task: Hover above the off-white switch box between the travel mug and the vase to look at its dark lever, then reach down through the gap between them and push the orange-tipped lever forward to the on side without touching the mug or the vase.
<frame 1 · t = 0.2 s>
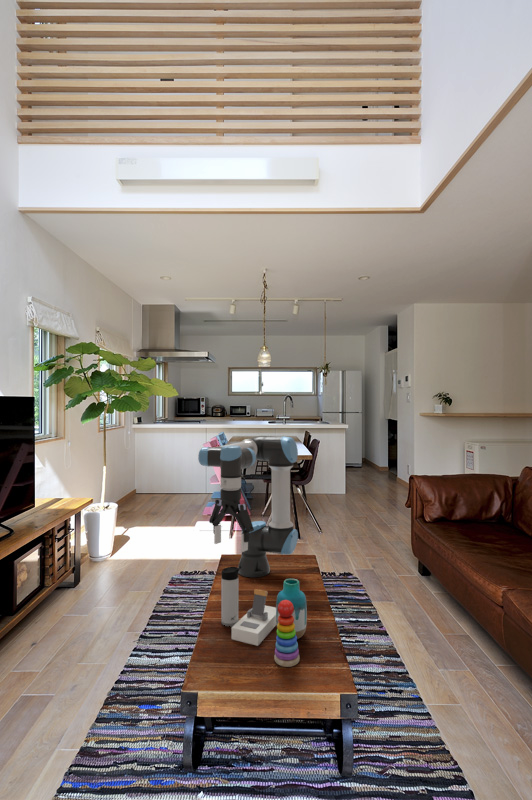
hand: (230, 546, 166), 28 cm above the table, tool pointing down, fingers open, 13 cm apart
stacking toy: (286, 661, 143), on the table
vase: (291, 637, 157), on the table
lever: (259, 603, 164), point 8 cm above the table, hinge at -22.0°
switch box: (257, 628, 162), on the table
travel mug: (230, 623, 167), on the table
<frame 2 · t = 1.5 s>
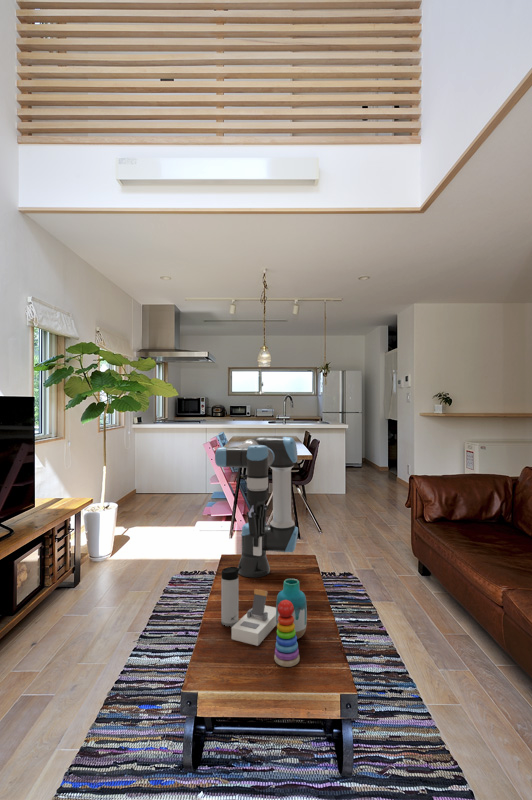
hand: (257, 554, 162), 26 cm above the table, tool pointing down, fingers closed
nothing on the table moved.
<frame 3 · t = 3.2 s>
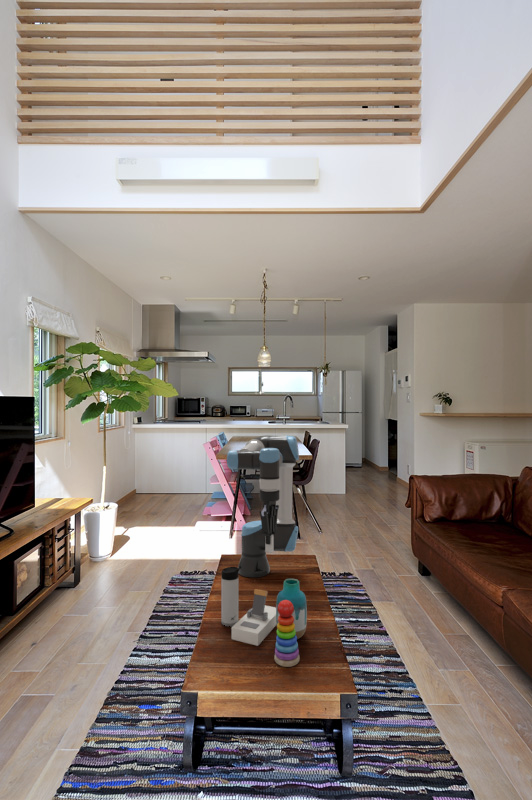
hand: (269, 552, 172), 24 cm above the table, tool pointing down, fingers closed
nothing on the table moved.
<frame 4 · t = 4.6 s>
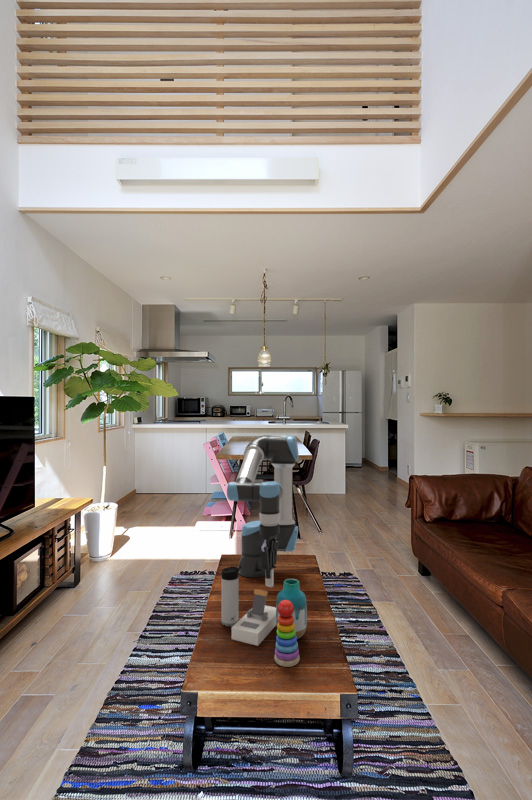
hand: (269, 585, 172), 11 cm above the table, tool pointing down, fingers closed
nothing on the table moved.
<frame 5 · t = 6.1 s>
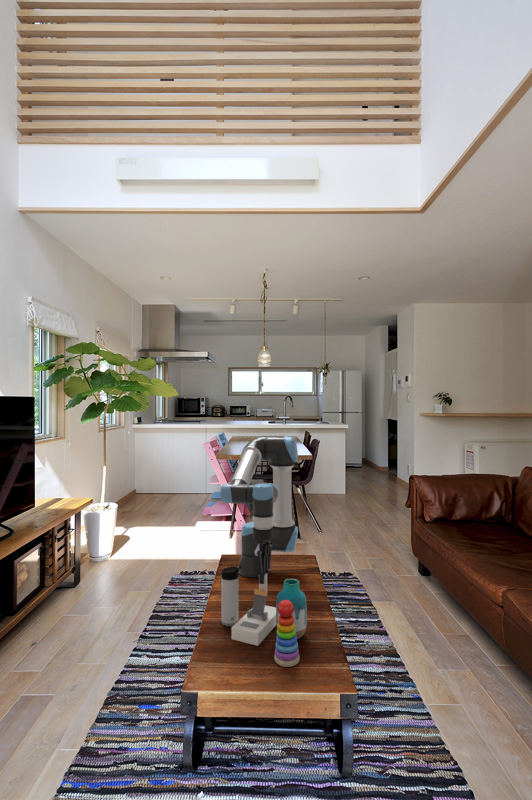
hand: (263, 591, 166), 12 cm above the table, tool pointing down, fingers closed
lever: (259, 603, 164), point 8 cm above the table, hinge at -22.0°, touching gripper
everything else where it was.
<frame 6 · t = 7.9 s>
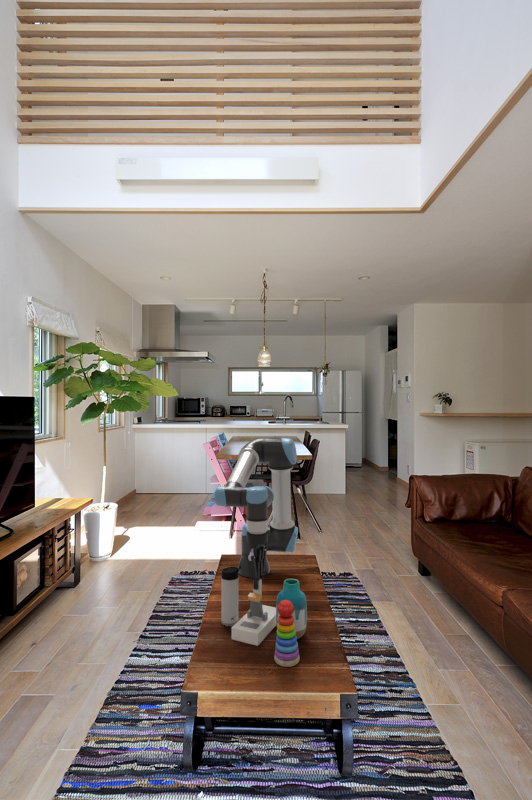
hand: (257, 597, 162), 11 cm above the table, tool pointing down, fingers closed
lever: (256, 606, 161), point 9 cm above the table, hinge at 16.9°, touching gripper
everything else where it was.
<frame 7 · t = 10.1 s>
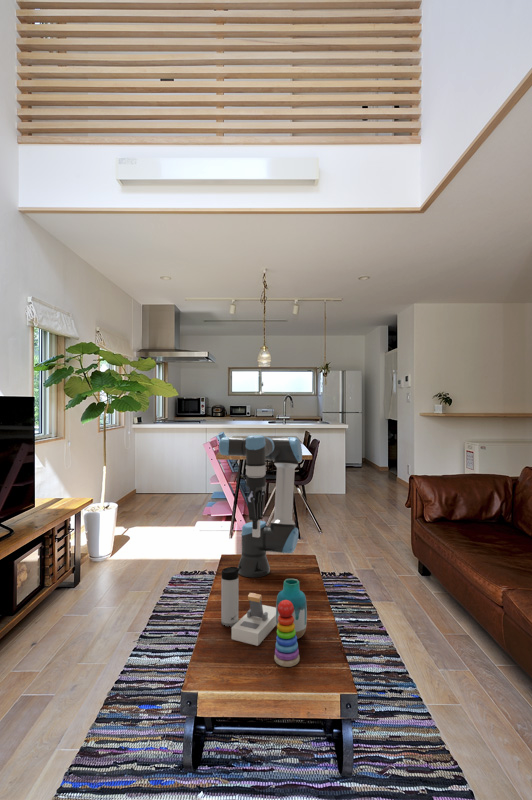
hand: (256, 536, 176), 29 cm above the table, tool pointing down, fingers closed
lever: (256, 606, 161), point 9 cm above the table, hinge at 17.1°
everything else where it was.
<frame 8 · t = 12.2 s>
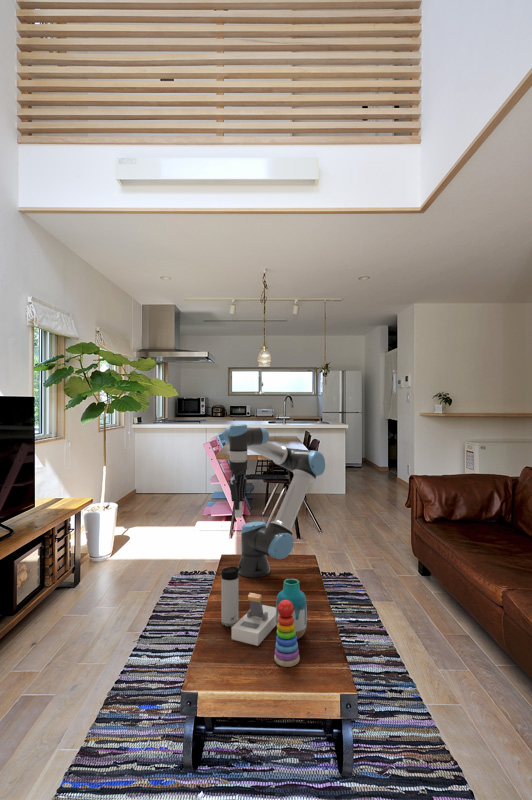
hand: (238, 516, 192), 32 cm above the table, tool pointing down, fingers closed
nothing on the table moved.
at the end: lever at +17° (first picture: -22°); travel mug moved 0.2 cm from its start; vase moved 0.2 cm from its start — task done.
